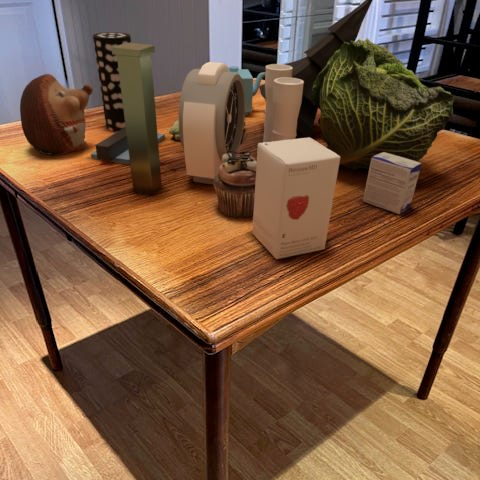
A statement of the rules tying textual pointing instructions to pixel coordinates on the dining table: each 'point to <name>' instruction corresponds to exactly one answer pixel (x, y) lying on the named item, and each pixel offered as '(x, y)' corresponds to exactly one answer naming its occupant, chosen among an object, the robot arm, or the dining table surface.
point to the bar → (112, 146)
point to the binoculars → (281, 103)
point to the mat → (125, 153)
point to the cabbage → (376, 106)
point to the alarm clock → (210, 118)
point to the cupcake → (236, 184)
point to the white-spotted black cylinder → (110, 77)
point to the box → (391, 182)
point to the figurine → (54, 115)
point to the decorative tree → (322, 62)
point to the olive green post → (140, 115)
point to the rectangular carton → (293, 195)
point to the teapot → (248, 85)
